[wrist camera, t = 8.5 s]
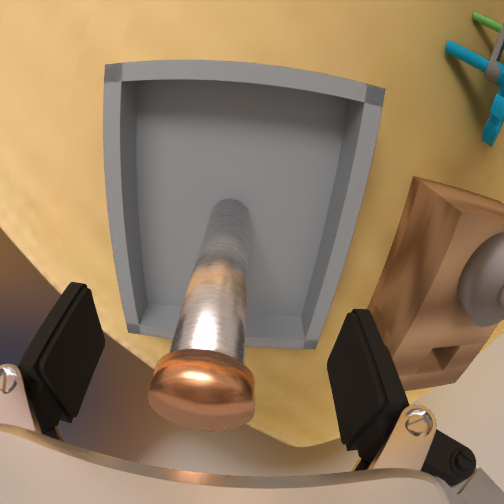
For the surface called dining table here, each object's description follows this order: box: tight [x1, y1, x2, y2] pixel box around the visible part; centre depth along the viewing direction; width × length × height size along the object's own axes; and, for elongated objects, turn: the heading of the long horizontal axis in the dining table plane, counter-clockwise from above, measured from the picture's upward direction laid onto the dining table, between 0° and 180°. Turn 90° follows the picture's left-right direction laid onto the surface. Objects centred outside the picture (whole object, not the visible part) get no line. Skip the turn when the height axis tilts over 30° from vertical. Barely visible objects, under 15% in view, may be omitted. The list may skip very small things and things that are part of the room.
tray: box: [103, 60, 385, 349], centre depth 18 cm, size 18×14×4 cm
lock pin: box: [148, 199, 255, 431], centre depth 13 cm, size 3×3×13 cm
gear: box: [445, 12, 504, 147], centre depth 11 cm, size 11×6×10 cm
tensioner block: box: [368, 176, 504, 391], centre depth 19 cm, size 16×10×9 cm, turn 174°
